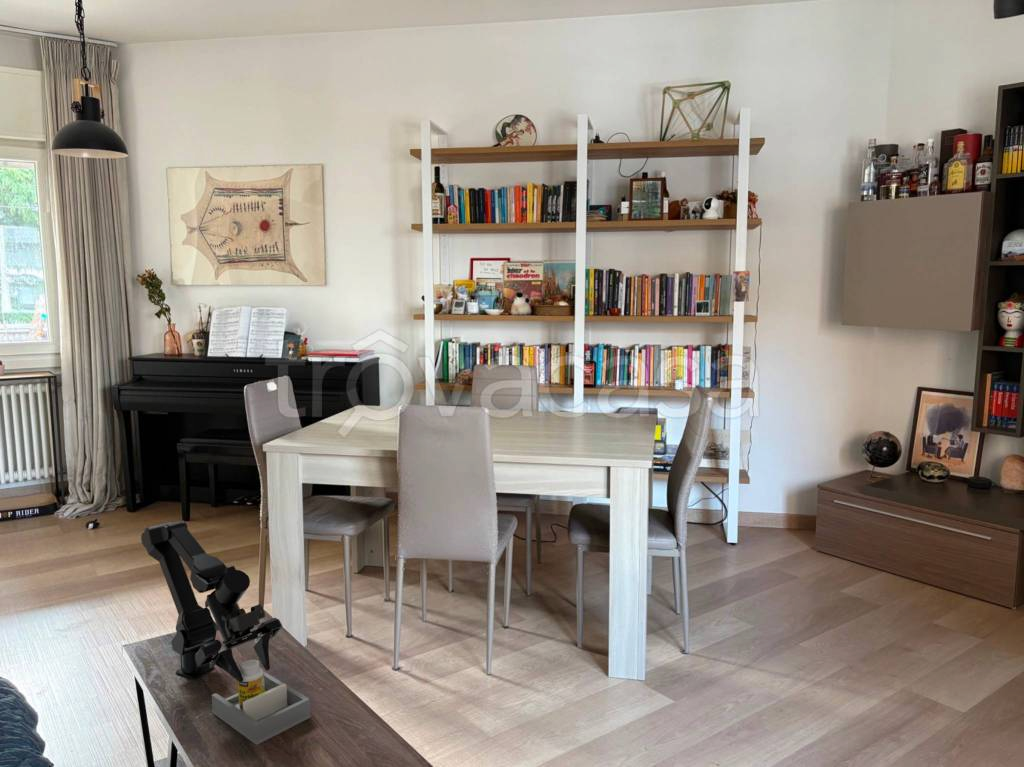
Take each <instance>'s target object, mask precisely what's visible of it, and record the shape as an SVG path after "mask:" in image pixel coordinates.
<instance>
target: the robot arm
mask: <svg viewBox="0 0 1024 767" xmlns="http://www.w3.org/2000/svg"><path fill="white" fill-rule="evenodd" d="M187 524H188V523H186V522H185V521H181V520H180V521H175V522H172V521H169V522H163V523H160V524H156V525H152V526H149V527H148V526H147V527H146V528H145V529H144V531H143V532H142V533H141V535H140V541H141V544H142V546H143V547H144V548H145V550H146V552H147V554H148V555H149V556H150V557H151V558H153V560H156V561H158V563H159V565H160V567H161V568H160V569H161V571H162V573H163V577H164V578H165V582H166V584H167V587H168V590H169V592H170V595H171V598H172V600H173V602H174V603H173V604H174V606H175V609H176V611H177V614H178V615H177V620H176V625H175V631H176V634H175V635H174V636H173V638H172V640H171V641H170V642H171V648H172V650H173V651H174V652H175V653H176V654H178V655H179V656H180V657H179V658H180V668H179V669H177V670H175V674H176V675H181V676H183V677H186V678H189V679H192V680H194V679H196V678H198V677H200V676H201V675H203V674H206V673H207V672H209V671H210V670H212V669H214V668H215V666H217V667H218V668H220V669H222V671H225V672H226V673H228V674H229V675H230V676H232V677H233V678H234V679H235V680H236V681H237V680H238V681H239V682H242V681H243V677H242V675H241V672H240V668H239V666H238V664H237V662H236V660H235V659H234V656H233V655H234V654H233V650H232V649H234V648H236V647H239V646H241V645H243V644H246V643H249V642H252V641H254V643H255V644H254V645H253V649H254V652H255V654H256V655H257V658H258V659H259V662H260V663H261V665H262V666H263V668H264V669H265V671H266V672H268V671H269V670H270V669H271V668H270V667H271V665H270V654H269V653H270V651H269V646H270V645H269V643H270V639H273V638H274V637H275V636H276V635H277V634H278V633H279V632H280V630H281V629H282V628H283V624H282V622H281V620H280V619H279V618H276V617H273V618H270V619H267V620H265V621H262V622H260V620H261V619H263V618H265V617H266V613H265V609H264V607H263V606H262V604H261V603H258V604H256V605H254V606H251V607H250V611H249V612H246V611H245V609H244V607H242V608H241V607H240V605H239V604H238V602H239V601H240V600H241V599H242V597H243V595H244V594H245V593H246V591H247V590H248V589H249V587H250V583H251V579H250V576H249V575H248V574H247V573H245V572H244V571H242V570H240V569H236V567H235V565H231V566H227V565H226V564H225V563H224V562H223V561H222V560H220V558H218V557H216V556H214V555H213V556H212V555H209V554H208V553H207V552H206V550H205V549H204V548H203V547H202V545H201V544H200V543H199V542H198V541H197V540H198V539H196V538H195V536H194V535H193V534H192V533H191V532H190V530H189V529H188V525H187ZM183 562H184V563H185V565H186V566H187V568H188V569H189V570H190V576H189V577H190V578H189V577H188V575H187V574H188V573H187V571H186V568H185V566H184V564H183ZM191 584H192V585H191ZM193 589H194V590H196V592H197V593H199V594H201V593H202V594H203V593H206V592H210V591H212V590H213V591H212V592H211V593H209V594H207V595H206V600H205V602H204V606H205V607H203V606H201V605H199V603H198V600H197V598H196V595H195V593H194V592H195V591H194V590H193ZM213 618H214V619H213ZM255 626H258V627H257V629H254V628H255ZM217 631H219V632H220V634H221V637H222V639H223V641H222V642H221V640H219V639H216V636H217Z"/></svg>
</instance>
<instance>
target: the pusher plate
mask: <svg viewBox="0 0 1024 767" xmlns="http://www.w3.org/2000/svg"><path fill="white" fill-rule="evenodd" d="M287 686H288V685H287V684H286V683H284V684H281V685H279V686H277V687H275V688H273V689H270V690H268V691H266V692H264V693H262V694H260V695H257V696H255V697H253V698H251V699H249V700H246V701H244V702H243V712H244V713H246V714H247V715H249V716H250V717H251V718H253V719H254V720H256V721H257V720H259V719H261V718H263V717H266V716H268V715H270V714H272V713H274V712H276V711H278V710H280V709H282V708H284V707H286V706H287Z"/></svg>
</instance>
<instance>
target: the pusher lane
mask: <svg viewBox="0 0 1024 767" xmlns="http://www.w3.org/2000/svg"><path fill="white" fill-rule="evenodd" d="M263 672H264V686H265V692H266V691H268V690H270V689H273V688H275V687H277V686H279V685H281V684H285V683H284V682H283V681H280V680H279V679H277V678H276V677H274V676H272V675H270V674H269V673H268V672H267V671H266V672H265V671H263ZM310 703H311V701H310V698H308V697H307V696H306V695H303V694H301V692H298V691H297V690H295V689H294V688H292V687H291V686H289V685H287V706H286V707H284V708H282V709H280V710H278V711H276V712H274V713H272V714H270V715H268V716H266V717H263V718H261V719H259V720H257V721H256V720H254V719H253V718H251V717H250V716H249V715H247V714H246V713H244V712H243V711H242V710H241V709H240V707H239V695H238V692H237V693H236V694H233V695H230V696H228V697H226V698H224V697H223V696H221V695H219V693H217V692H215V693H213V694H211V704H212V706H211V707H212V714H213V713H214V715H215V716H216V717H217V718H219V719H220V720H222V721H223V722H224V723H226V724H227V725H229V726H230V727H231V728H232V729H234V730H235V731H237V732H238V733H239V734H241V735H242V736H244V737H245V738H246V739H248V740H249V741H251V742H252V743H253V744H255V745H256V746H257V745H260V744H262V743H263V742H265V741H268V740H270V739H271V738H273V737H275V736H277V735H279V734H281V733H283V732H285V731H287V730H289V729H290V728H293V727H294V726H296V725H299V724H300V723H303V722H304V721H306V720H309V719H310V718H311V706H310V705H311V704H310Z"/></svg>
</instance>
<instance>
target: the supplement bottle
mask: <svg viewBox="0 0 1024 767" xmlns="http://www.w3.org/2000/svg"><path fill="white" fill-rule="evenodd" d="M239 667H240V668H239V670H240V672H241V675H242V677H243V681H242V682H239V681H238V680H236V681H237V693H238V695H239V707H240V709H241V710H242V711H243V702H244V701H246V700H249V699H251V698H253V697H255V696H257V695H260V694H262V693H264V692H265V686H264V672H265V671H264V669H263V668H262V667H261V665H260V660H258V659H253V658H251V659H247V660H244V661H242V662H241V663H240V664H239Z"/></svg>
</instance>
